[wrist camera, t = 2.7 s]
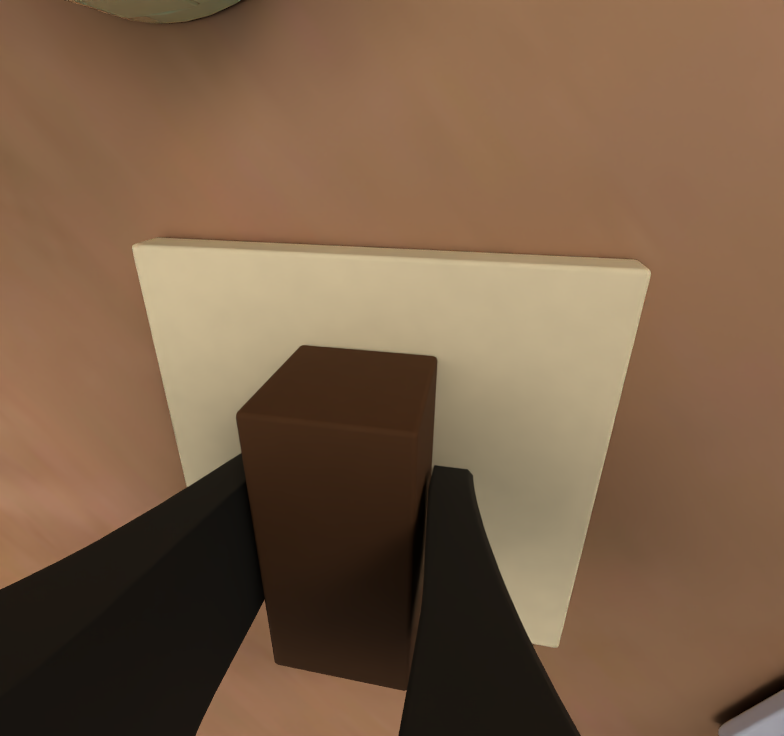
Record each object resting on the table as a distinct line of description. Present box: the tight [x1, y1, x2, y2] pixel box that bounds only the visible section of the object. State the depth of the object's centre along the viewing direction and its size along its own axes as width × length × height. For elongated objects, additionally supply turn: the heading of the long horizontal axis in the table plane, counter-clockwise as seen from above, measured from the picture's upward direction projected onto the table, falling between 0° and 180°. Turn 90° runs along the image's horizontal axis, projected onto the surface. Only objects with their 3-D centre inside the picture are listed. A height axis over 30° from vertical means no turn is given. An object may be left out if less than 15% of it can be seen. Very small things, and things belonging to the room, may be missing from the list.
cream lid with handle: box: [132, 238, 651, 691], centre depth 9 cm, size 9×9×3 cm
